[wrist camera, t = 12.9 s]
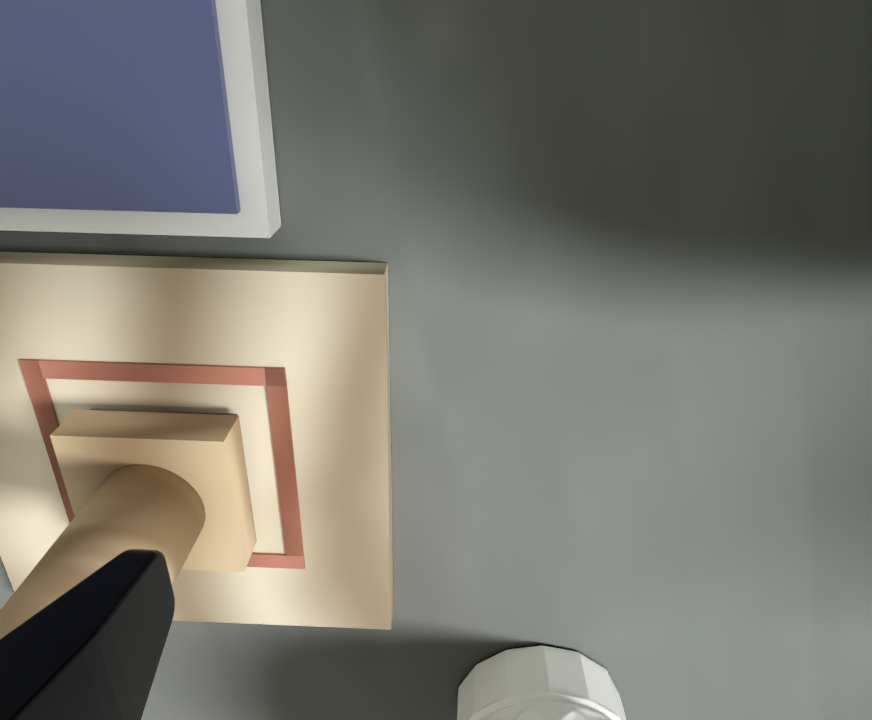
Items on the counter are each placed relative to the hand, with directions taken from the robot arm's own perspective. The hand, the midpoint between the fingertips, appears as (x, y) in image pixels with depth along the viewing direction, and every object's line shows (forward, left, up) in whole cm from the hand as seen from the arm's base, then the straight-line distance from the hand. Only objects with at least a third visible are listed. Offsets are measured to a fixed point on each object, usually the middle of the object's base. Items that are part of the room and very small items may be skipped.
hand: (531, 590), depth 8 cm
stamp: (+10, +7, -11) cm, 16 cm away
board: (+10, +7, -12) cm, 17 cm away
